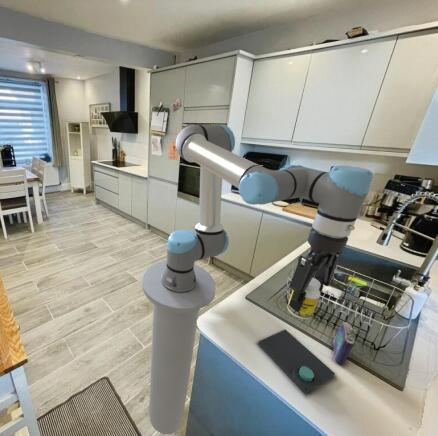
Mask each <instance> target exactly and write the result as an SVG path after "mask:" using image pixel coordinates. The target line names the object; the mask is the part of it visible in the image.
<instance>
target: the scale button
mask: <svg viewBox="0 0 438 436" xmlns="http://www.w3.org/2000/svg"><path fill="white" fill-rule="evenodd" d="M299 375H300V377H301V378H302V379H303V380H305V381H307V382H310V381H312V379H313V377H314V373H313V372H312V370H311V369H309V368H308V367H305V366H302V367H301V368H300V370H299Z"/></svg>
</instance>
